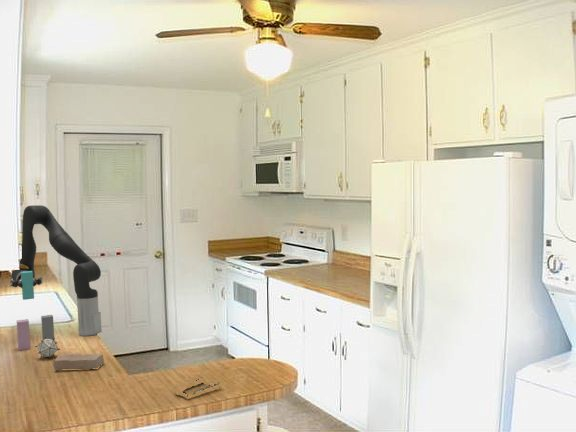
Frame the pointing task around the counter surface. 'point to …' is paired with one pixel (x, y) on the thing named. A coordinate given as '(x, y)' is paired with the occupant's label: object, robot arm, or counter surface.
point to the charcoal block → (47, 327)
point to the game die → (47, 347)
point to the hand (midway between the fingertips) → (27, 284)
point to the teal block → (27, 285)
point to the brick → (78, 361)
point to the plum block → (23, 334)
